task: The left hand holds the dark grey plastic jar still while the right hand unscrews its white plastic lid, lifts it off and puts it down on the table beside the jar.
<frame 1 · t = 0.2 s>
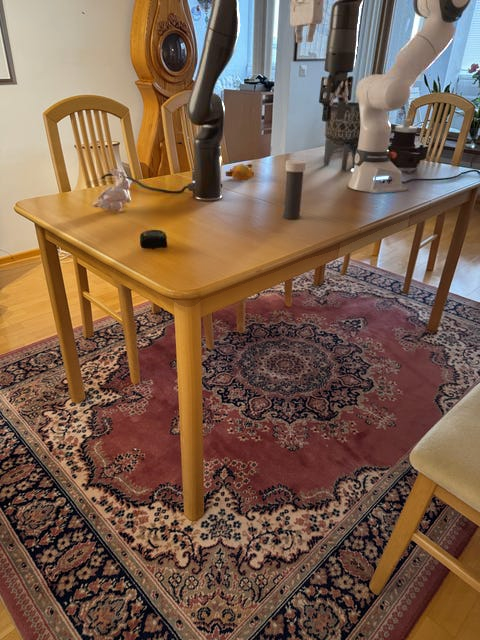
left hand: (333, 120, 123), 29 cm above the table, tool pointing down, fingers open, 8 cm apart
right hand: (304, 42, 147), 48 cm above the table, tool pointing down, fingers open, 8 cm apart
lid: (295, 162, 135), point 17 cm above the table, screwed on, not yet turned
tape measure: (155, 248, 118), on the table
rock: (344, 151, 245), on the table
planter: (341, 167, 211), on the table
toy: (241, 178, 187), on the table
jar: (291, 217, 143), on the table
figurine: (115, 210, 146), on the table
mechanical component: (402, 168, 210), on the table
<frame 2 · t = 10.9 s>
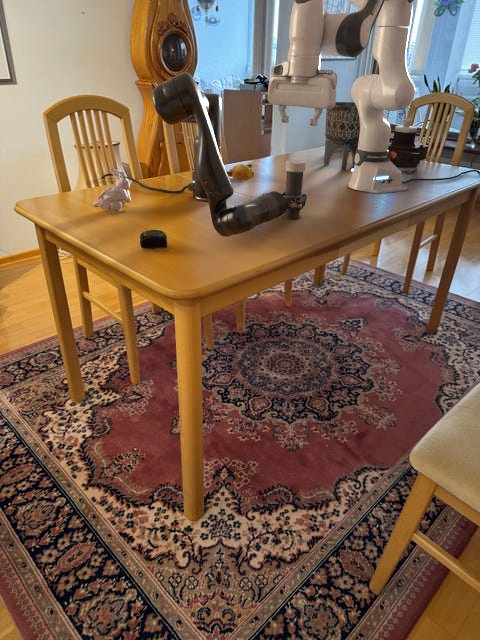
left hand: (297, 195, 142), 6 cm above the table, tool horizontal, fingers closed on jar, 5 cm apart
right hand: (298, 124, 129), 27 cm above the table, tool pointing down, fingers open, 8 cm apart
jar: (291, 217, 143), on the table, touching left hand
everything else where it was.
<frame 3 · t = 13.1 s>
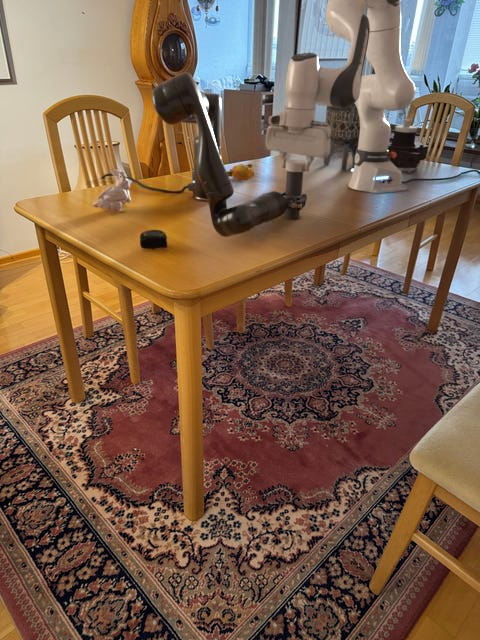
left hand: (297, 195, 142), 6 cm above the table, tool horizontal, fingers closed on jar, 5 cm apart
right hand: (295, 169, 136), 15 cm above the table, tool pointing down, fingers closed on lid, 6 cm apart
lid: (295, 162, 135), point 17 cm above the table, screwed on, not yet turned, touching right hand
jar: (291, 217, 143), on the table, touching left hand
everything else where it was.
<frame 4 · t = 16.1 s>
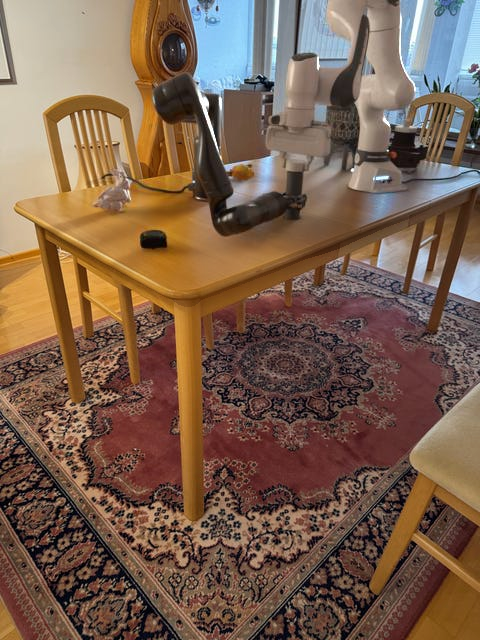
left hand: (297, 195, 142), 6 cm above the table, tool horizontal, fingers closed on jar, 5 cm apart
right hand: (295, 169, 136), 15 cm above the table, tool pointing down, fingers closed on lid, 5 cm apart
lid: (296, 162, 135), point 17 cm above the table, turned 69° so far, risen 0.1 cm, still on its thread, touching right hand
jar: (291, 217, 143), on the table, touching left hand
everything else where it was.
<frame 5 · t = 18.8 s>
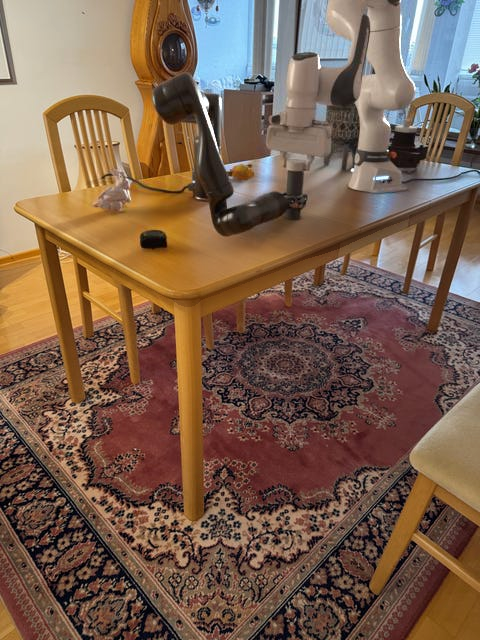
left hand: (298, 195, 142), 6 cm above the table, tool horizontal, fingers closed on jar, 5 cm apart
right hand: (295, 168, 136), 15 cm above the table, tool pointing down, fingers closed on lid, 6 cm apart
lid: (296, 161, 134), point 17 cm above the table, turned 138° so far, risen 0.2 cm, still on its thread, touching right hand
jar: (292, 217, 143), on the table, touching left hand
everything else where it was.
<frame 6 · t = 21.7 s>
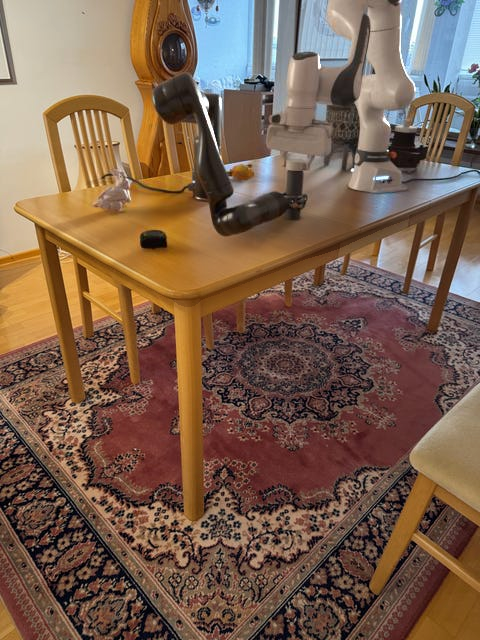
left hand: (297, 195, 142), 6 cm above the table, tool horizontal, fingers closed on jar, 5 cm apart
right hand: (295, 168, 135), 15 cm above the table, tool pointing down, fingers closed on lid, 5 cm apart
lid: (296, 161, 134), point 17 cm above the table, turned 206° so far, risen 0.3 cm, still on its thread, touching right hand
jar: (292, 217, 143), on the table, touching left hand
everything else where it was.
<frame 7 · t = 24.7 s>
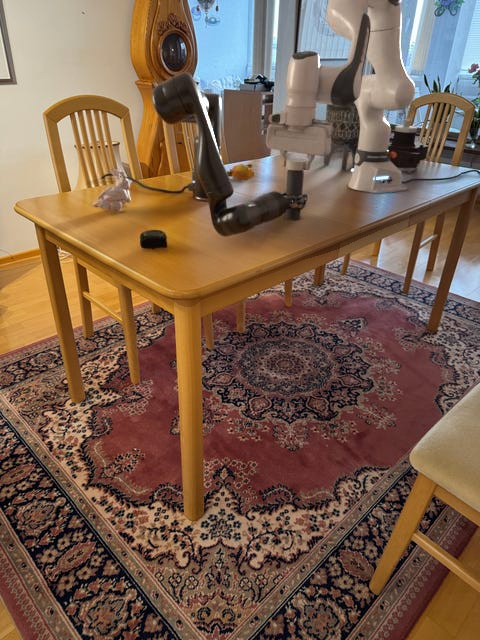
left hand: (297, 195, 142), 6 cm above the table, tool horizontal, fingers closed on jar, 5 cm apart
right hand: (295, 168, 135), 15 cm above the table, tool pointing down, fingers closed on lid, 6 cm apart
lid: (296, 161, 134), point 17 cm above the table, turned 275° so far, risen 0.5 cm, still on its thread, touching right hand
jar: (292, 217, 143), on the table, touching left hand
everything else where it was.
when the right hand's fingers open (2 cm above the table, at t = 33.5 s): lid drops 2 cm, point 2 cm above the table.
when the left hand's fingers open (6 cm above the table, at t = 34.6 s): jar stays where it is, on the table.
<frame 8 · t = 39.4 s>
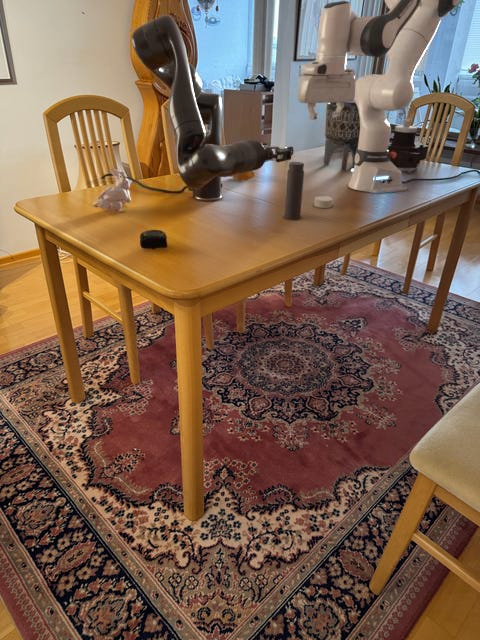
left hand: (278, 148, 125), 22 cm above the table, tool horizontal, fingers open, 8 cm apart
right hand: (324, 118, 141), 27 cm above the table, tool pointing down, fingers open, 8 cm apart
lid: (323, 199, 154), point 2 cm above the table, off its thread
jar: (292, 217, 143), on the table
everything else where it was.
at the end: lid came off its thread; lid point 2.1 cm above the table; the left hand is holding nothing; the right hand is holding nothing; jar tilted 0°; jar moved 0.4 cm from its start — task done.
